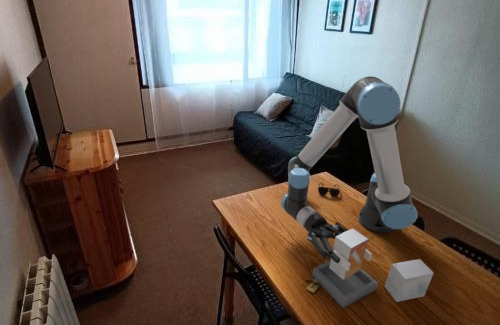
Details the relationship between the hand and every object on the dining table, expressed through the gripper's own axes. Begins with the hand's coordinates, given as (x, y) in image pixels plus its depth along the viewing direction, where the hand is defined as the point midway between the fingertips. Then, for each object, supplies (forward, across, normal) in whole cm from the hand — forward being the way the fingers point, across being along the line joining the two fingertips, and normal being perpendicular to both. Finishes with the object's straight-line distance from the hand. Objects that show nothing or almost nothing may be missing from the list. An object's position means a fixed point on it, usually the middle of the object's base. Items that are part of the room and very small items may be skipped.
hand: (359, 262), depth 90 cm
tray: (-4, 0, -13) cm, 14 cm away
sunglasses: (-52, -37, -14) cm, 65 cm away
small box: (-5, 0, -7) cm, 9 cm away
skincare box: (+8, -15, -13) cm, 22 cm away
